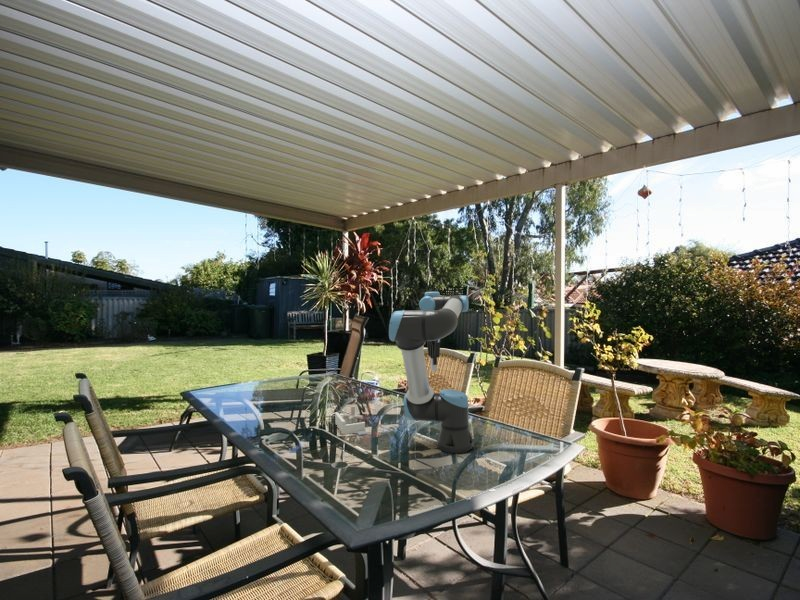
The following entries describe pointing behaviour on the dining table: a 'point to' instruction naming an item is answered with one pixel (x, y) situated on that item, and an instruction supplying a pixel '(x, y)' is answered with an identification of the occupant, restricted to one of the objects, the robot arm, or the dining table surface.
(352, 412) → the pipe connector
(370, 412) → the dining table surface
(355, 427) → the dock
